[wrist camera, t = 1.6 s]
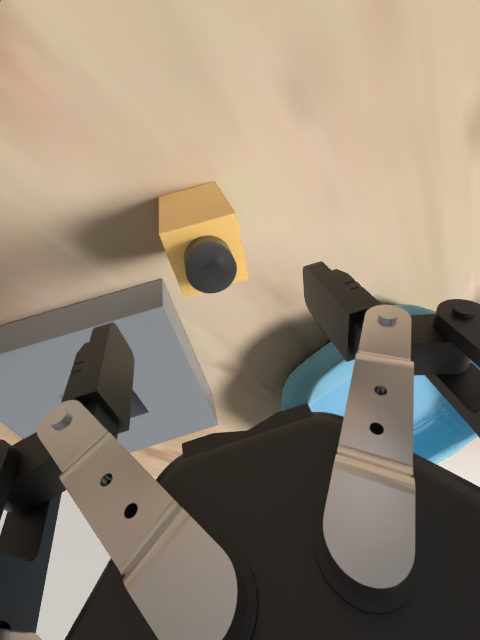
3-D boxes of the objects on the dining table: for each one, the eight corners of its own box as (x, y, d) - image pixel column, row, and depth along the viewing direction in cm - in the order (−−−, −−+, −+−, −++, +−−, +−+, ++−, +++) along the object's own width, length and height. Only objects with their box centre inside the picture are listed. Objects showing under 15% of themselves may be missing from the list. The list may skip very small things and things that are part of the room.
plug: (214, 181, 20) (242, 222, 14) (227, 235, 23) (255, 292, 16) (158, 196, 20) (158, 246, 13) (177, 249, 23) (186, 312, 16)
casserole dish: (472, 392, 48) (512, 430, 43) (357, 457, 54) (379, 499, 49) (407, 241, 27) (471, 278, 22) (229, 375, 33) (243, 432, 27)
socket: (162, 278, 24) (162, 306, 21) (212, 394, 34) (217, 424, 31) (-35, 335, 23) (-65, 373, 20) (76, 436, 33) (68, 471, 30)
